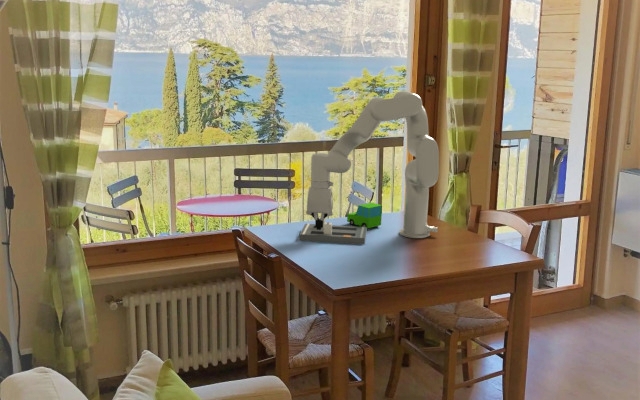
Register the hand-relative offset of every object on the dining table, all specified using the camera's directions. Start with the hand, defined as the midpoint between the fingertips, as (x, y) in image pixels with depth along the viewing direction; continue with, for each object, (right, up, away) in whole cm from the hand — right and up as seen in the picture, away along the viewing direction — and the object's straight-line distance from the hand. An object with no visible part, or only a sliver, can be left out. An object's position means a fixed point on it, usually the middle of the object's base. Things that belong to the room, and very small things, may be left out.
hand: (319, 229), depth 257 cm
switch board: (+6, -3, +4) cm, 8 cm away
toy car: (+19, 0, +21) cm, 29 cm away
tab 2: (+4, -3, 0) cm, 5 cm away
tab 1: (+1, -1, +8) cm, 8 cm away
